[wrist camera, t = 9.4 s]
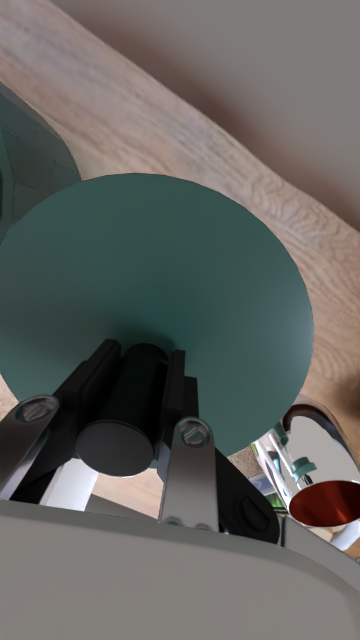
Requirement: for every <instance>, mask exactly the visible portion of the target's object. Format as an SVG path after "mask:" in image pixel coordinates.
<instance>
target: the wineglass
mask: <svg viewBox="0 0 360 640" xmlns="http://www.w3.org/2000/svg"><path fill="white" fill-rule="evenodd" d="M251 448H252V450H253V453H254V455H255V457H256V459H257V460H258V462H259V464H260V466H261V468H262V469H263V471H264V473H265V475H266V476H267V478H268V480H269V481H270V483H271V485H272V486H273V488H274V490H275V491H276V493H277V495H278V496H279V498H280V500H281V501H282V503H283V505H284V506H285V508H286V509H287V511H288V513H289V514H290V516H291V517H292V518H293V519H294V520H295V521H297V522H298V523H300V524H303V525H305V526H309V527H314V528H334V527H340V526H344V525H347V524H350V523H353V522H355V521H357V520H359V519H360V464H359V462H358V459H357V457H356V455H355V453H354V451H353V449H352V447H351V445H350V443H349V441H348V438H347V437H346V435H345V433H344V431H343V429H342V427H341V425H340V424H339V422H338V421H337V419H336V418H335V416H334V415H333V414H332V413H331V412H330V411H329V410H328V409H327V408H326V407H325V406H324V405H322V404H321V403H320V402H318V401H316V400H315V399H313V398H311V397H308V396H306V395H303V394H298V396H297V398H296V400H295V401H294V403H293V404H292V406H291V407H290V408H289V410H288V411H287V413H286V414H285V415H284V417H283V418H282V419H281V420H280V421H279V422H278V423H277V424H276V425H275V426H274V427H273V428H272V429H271V430H270V431H268V432H267V433H266V434H265V435H264V436H262V437H261V438H260V439H258V440H257V441H255V442H254V443H252V444H251Z"/></svg>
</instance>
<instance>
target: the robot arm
mask: <svg viewBox="0 0 360 640" xmlns="http://www.w3.org/2000/svg"><path fill="white" fill-rule="evenodd" d="M185 352H186V351H184V350H178V349H175V352H173V351H171V354H170V360H169V366H168V371H167V377H166V383H165V388H164V394H163V400H162V406H161V412H160V419H159V425H158V440H157V446H156V452H155V457H154V460H153V461H157V462H158V467H157V474H158V475H159V477H160V478H161V480H162V481H163V483H164V485H163V491H162V497H161V503H160V509H159V515H158V521H157V522H151V521H145V520H138V519H132V518H125V517H119V516H112V515H105V514H99V513H91V512H84V511H78V510H71V509H65V508H58V507H51V506H45V505H46V503H47V501H48V499H49V497H50V495H51V493H52V491H53V489H54V486H55V484H56V482H57V480H58V478H59V476H60V474H61V472H62V470H63V467H64V465H65V463H67V462H68V461H70V460H71V459H72V458H73V459H80V458H79V457H78V455H77V453H76V450H75V438H76V435H77V433H78V431H79V430H80V428H81V426H82V424H83V423H84V421H85V419H86V418H87V416H88V414H89V413H90V411H91V409H92V408H93V406H94V404H95V402H96V401H97V399H98V397H99V396H100V394H101V392H102V391H103V389H104V387H105V385H106V384H107V382H108V380H109V379H110V377H111V375H112V374H113V372H114V370H115V369H116V367H117V365H118V363H119V362H120V359H121V343H118V341H117V340H114V339H105V340H104V341H103V343H102V344H101V345H100V346H99V347H98V348H97V349H96V351H95V352H94V353H93V354H92V355H91V356H90V357H89V359H88V360H87V361H86V360H84V361H82V362H81V363H80V364H79V365H78V367H77V368H76V369H75V370H74V371H73V372H72V373H71V374H70V375H69V376H68V378H67V379H66V380H65V381H64V382H63V383H62V384H61V385H60V386H59V388H58V389H57V390H56V391H55V392H54V393H53V394H52V395H48V394H41V395H36V396H32V397H30V398H27V399H25V400H23V401H22V402H20V403H19V404H17V405H16V406H15V407H14V408H13V409H12V410H11V411H10V412H9V413H8V414H7V415H6V416H5V417H4V418H3V419H2V420H1V421H0V640H360V563H359V562H358V561H357V560H356V559H354V558H352V557H351V556H349V555H348V554H346V553H345V552H343V551H342V550H340V549H338V548H337V547H335V546H334V545H332V544H331V543H329V542H327V541H326V540H324V539H323V538H321V537H320V536H318V535H317V534H315V533H313V532H312V531H310V530H309V529H307V528H306V527H304V526H303V525H301V524H299V523H298V522H296V521H295V520H293V519H292V518H290V517H289V516H287V515H285V516H284V518H283V517H282V516H280V515H279V514H277V513H276V512H275V510H274V508H273V506H272V504H271V503H270V502H269V501H268V499H267V498H266V497H265V496H264V495H263V494H262V493H261V492H260V491H259V490H258V489H257V488H256V487H255V486H254V485H253V484H252V483H251V482H250V481H249V480H248V479H247V478H246V477H245V476H244V475H243V474H242V473H241V472H240V471H239V470H238V469H237V468H236V467H235V466H234V465H233V464H232V463H231V462H230V461H229V460H228V459H227V458H226V457H225V456H224V455H223V454H222V453H221V452H220V451H219V450H218V449H217V448H216V447H215V445H214V434H213V431H212V429H211V427H210V426H209V425H208V424H207V423H206V422H205V421H203V420H202V419H200V418H199V402H198V382H197V378H196V377H190V376H184V374H185Z"/></svg>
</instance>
